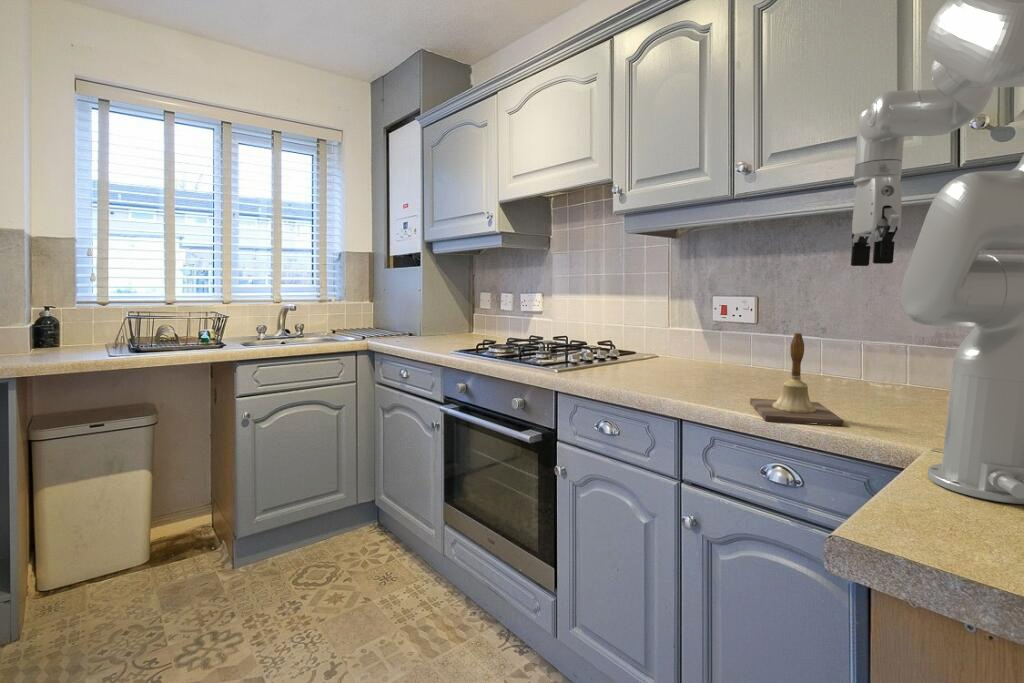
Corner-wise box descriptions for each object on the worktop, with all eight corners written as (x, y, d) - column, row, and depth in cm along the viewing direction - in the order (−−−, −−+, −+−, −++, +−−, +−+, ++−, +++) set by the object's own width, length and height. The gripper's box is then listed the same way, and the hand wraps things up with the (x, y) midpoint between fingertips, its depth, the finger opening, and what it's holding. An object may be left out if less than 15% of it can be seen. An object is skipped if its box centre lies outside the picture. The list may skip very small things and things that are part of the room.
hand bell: (806, 415, 110) (811, 336, 108) (764, 407, 116) (769, 332, 114) (823, 409, 115) (828, 333, 113) (782, 402, 121) (787, 330, 119)
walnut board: (842, 426, 106) (843, 420, 106) (765, 421, 110) (765, 415, 109) (817, 407, 122) (817, 402, 122) (750, 403, 125) (750, 398, 125)
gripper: (924, 163, 95) (916, 262, 97) (878, 182, 112) (871, 266, 114) (876, 164, 97) (869, 262, 98) (838, 183, 114) (832, 266, 115)
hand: (870, 264), depth 106 cm, fingers open, 9 cm apart
